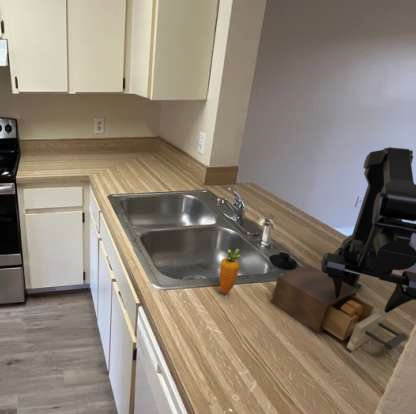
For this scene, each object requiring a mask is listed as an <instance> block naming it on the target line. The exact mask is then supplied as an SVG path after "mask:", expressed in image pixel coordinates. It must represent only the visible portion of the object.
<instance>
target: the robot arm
mask: <svg viewBox="0 0 416 414" xmlns="http://www.w3.org/2000/svg"><path fill="white" fill-rule="evenodd" d="M413 154H414V151H413V150H412V149H411V150H410V148H402V147H391V146H389V147H384V148H383V149H380V150H373V151H370V152H369V153H368V154H367V155H366V157H365V159H364V163H363V167H362V168H363V169H364V172H363V175H364V177H365V180H366V182H367V187H366V190H365V193H364V196H363V200H362V202H361V207H360V209H359V212H358V215H357V219H356V222H355V225H354V228H353V230H352V234H350V235H349V236H348V237H347V238H345V239H344V240H343V241H342V243H341V245H340V246H339V247H338V248H337V249H336V250H335V251H334V253H332V252H325V253H324V254H323V256H322V258H321V271H322V272H324V273H326V274H327V276H328V277H330V278H332V279H333V282H334V285H335V294H336V298H337V299H338V297H339V295H340V291H341V287H342V282H344V283H346V284H348V285H350V286H352V287H354V288H356V289H358V290H359V289H361V288H362V286H363V285H362V284H360V283H358V282H359V280H360V277H361V276H363V277H368V278H372V279H376V280H380V281H384V282H388V283H391V284H395V287H394V290H393V292H392V294H391V295H390V297H389V299H388V300H387V302H386V304H385V312H386V313H388V312H389V313H390V312H392V311H393V310H394V309H397V308H398V307H400V306H402V305H404V304H407V303H409V302H411V301H416V272H413V271H409V270H408V269H410V268H412V267H414V266H415V265H416V248H415V247H414V244H413V242H412V236H413V234H416V223H414V222H416V184H415V182H414V181H415V180H414V173H413V166H412V163H413V160H414V155H413ZM393 271H402V273H401V275H400V274H396V273H393Z"/></svg>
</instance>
